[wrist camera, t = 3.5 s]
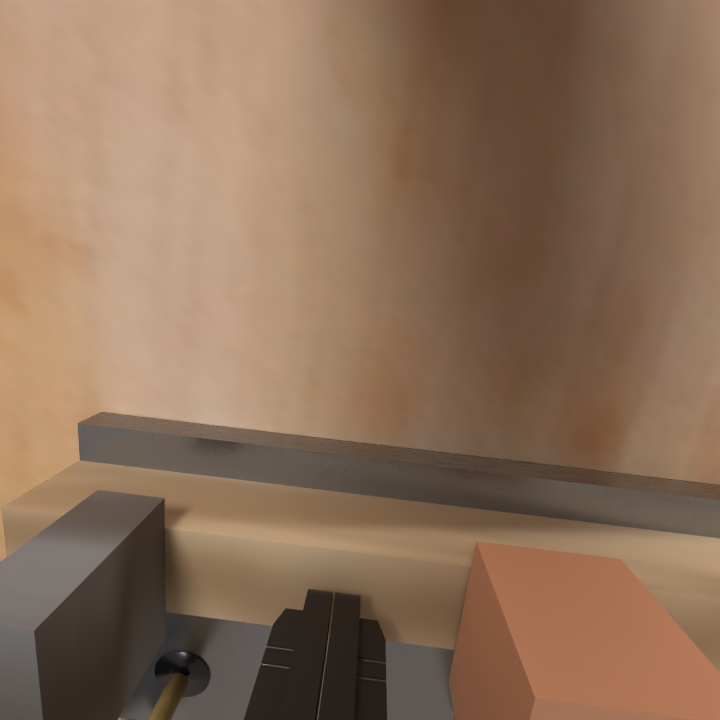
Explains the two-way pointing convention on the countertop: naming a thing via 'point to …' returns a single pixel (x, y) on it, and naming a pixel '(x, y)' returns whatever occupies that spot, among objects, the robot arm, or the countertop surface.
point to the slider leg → (572, 644)
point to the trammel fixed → (261, 573)
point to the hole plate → (373, 478)
